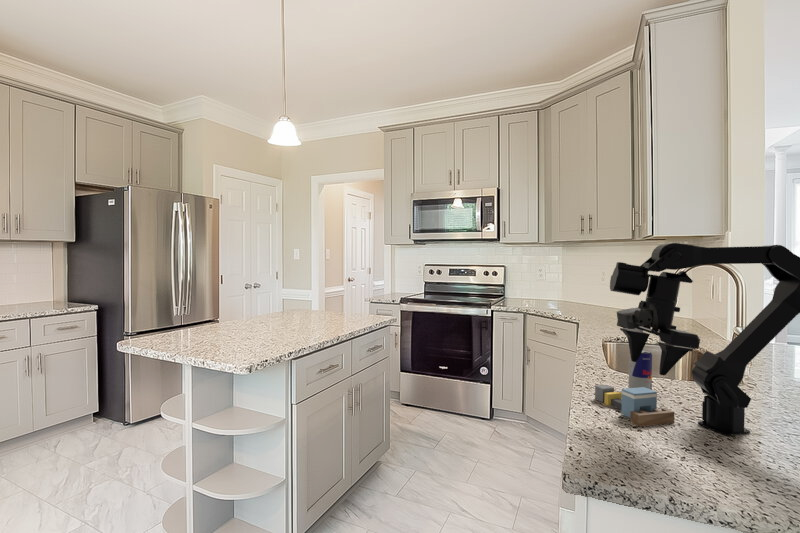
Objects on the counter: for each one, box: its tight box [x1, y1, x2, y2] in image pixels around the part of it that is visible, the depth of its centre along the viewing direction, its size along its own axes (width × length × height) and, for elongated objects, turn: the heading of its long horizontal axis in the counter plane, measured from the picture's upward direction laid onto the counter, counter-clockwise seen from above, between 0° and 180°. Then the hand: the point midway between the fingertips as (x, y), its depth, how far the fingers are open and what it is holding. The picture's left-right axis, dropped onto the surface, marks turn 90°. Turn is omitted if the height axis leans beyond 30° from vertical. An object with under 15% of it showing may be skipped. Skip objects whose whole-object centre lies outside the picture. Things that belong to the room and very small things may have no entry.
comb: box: [629, 407, 675, 427], centre depth 90 cm, size 2×9×2 cm, turn 104°
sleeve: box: [620, 387, 658, 419], centre depth 93 cm, size 4×6×6 cm, turn 104°
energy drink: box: [627, 348, 653, 390], centre depth 108 cm, size 5×5×12 cm
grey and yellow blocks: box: [594, 384, 649, 413], centre depth 97 cm, size 16×4×4 cm, turn 14°
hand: (647, 368), depth 90 cm, fingers open, 9 cm apart
